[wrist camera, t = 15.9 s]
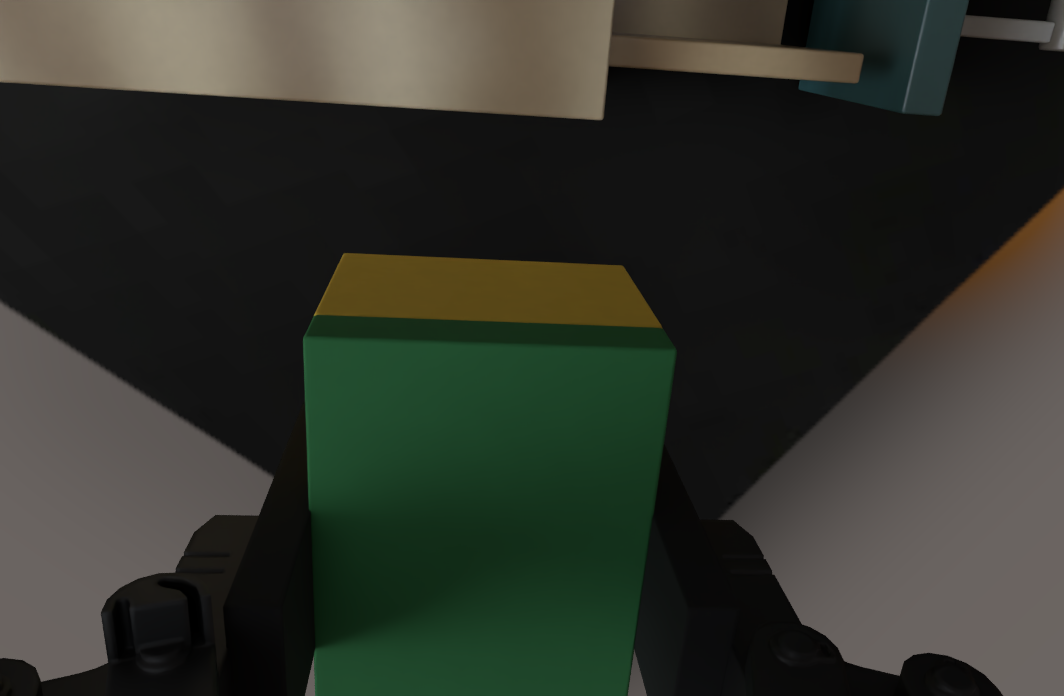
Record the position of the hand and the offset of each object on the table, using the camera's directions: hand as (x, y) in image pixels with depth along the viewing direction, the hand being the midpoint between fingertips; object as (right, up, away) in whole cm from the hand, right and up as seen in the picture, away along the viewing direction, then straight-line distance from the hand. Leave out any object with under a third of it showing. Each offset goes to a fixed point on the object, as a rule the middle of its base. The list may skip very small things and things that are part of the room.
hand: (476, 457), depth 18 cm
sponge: (0, 0, 0) cm, 0 cm away
